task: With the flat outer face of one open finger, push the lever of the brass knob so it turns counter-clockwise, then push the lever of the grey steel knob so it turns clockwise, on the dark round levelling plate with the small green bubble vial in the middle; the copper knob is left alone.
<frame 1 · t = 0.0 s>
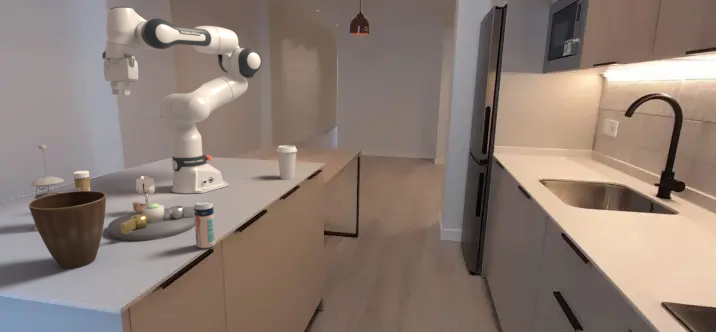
hand: (120, 94, 144), 39 cm above the worktop, tool pointing down, fingers open, 8 cm apart
tribrach: (154, 226, 125), on the worktop
vented spool lamp: (52, 225, 125), on the worktop
plant pot: (77, 263, 100), on the worktop
knob steel: (184, 211, 127), point 4 cm above the worktop, hinge at 0.0°
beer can: (206, 246, 110), on the worktop
knob copper: (140, 208, 130), point 4 cm above the worktop, hinge at 0.0°
sprinkles bottle: (85, 210, 140), on the worktop
coffee cup: (287, 178, 192), on the worktop
wineglass: (147, 212, 139), on the worktop
knob brass: (133, 223, 116), point 4 cm above the worktop, hinge at 0.0°
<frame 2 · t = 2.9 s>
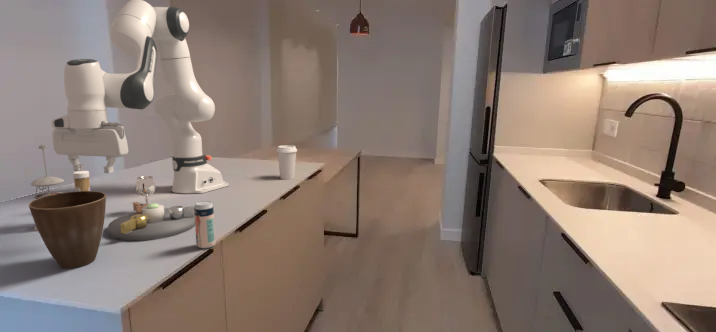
hand: (93, 171, 112), 19 cm above the worktop, tool pointing down, fingers open, 8 cm apart
nothing on the worktop moved.
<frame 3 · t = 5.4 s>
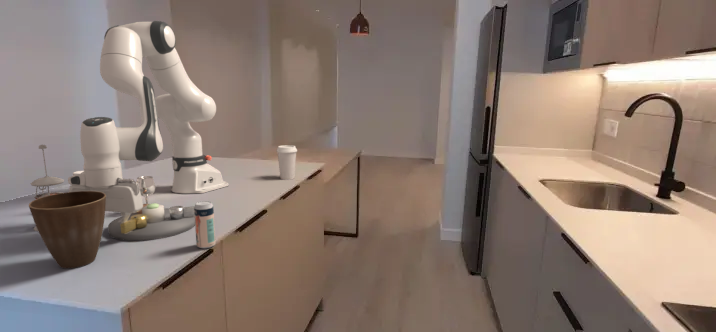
hand: (109, 225, 115), 4 cm above the worktop, tool pointing down, fingers open, 8 cm apart
knob brass: (133, 223, 116), point 4 cm above the worktop, hinge at 0.4°, touching gripper
everything else where it was.
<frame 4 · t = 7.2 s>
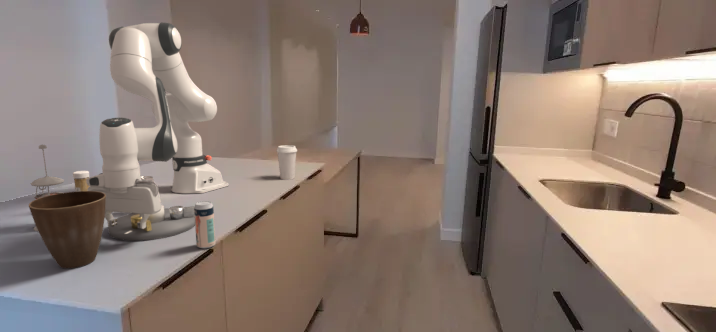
hand: (127, 226, 114), 4 cm above the worktop, tool pointing down, fingers open, 8 cm apart
knob brass: (142, 222, 117), point 4 cm above the worktop, hinge at 59.8°, touching gripper
everything else where it was.
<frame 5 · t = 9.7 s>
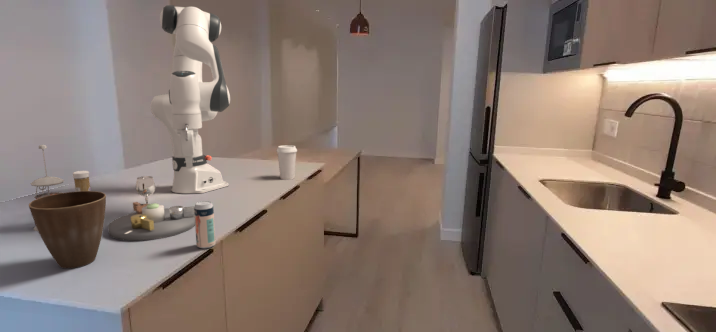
hand: (190, 165, 134), 17 cm above the worktop, tool pointing down, fingers open, 8 cm apart
knob brass: (143, 222, 117), point 4 cm above the worktop, hinge at 66.3°
everything else where it was.
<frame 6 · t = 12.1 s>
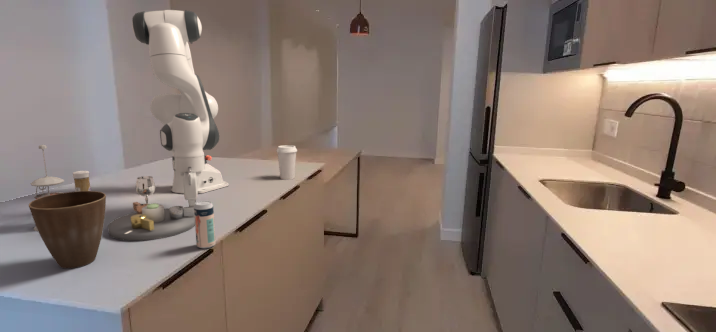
hand: (192, 206, 133), 4 cm above the worktop, tool pointing down, fingers open, 7 cm apart
knob steel: (184, 211, 127), point 4 cm above the worktop, hinge at -1.1°, touching gripper
everything else where it was.
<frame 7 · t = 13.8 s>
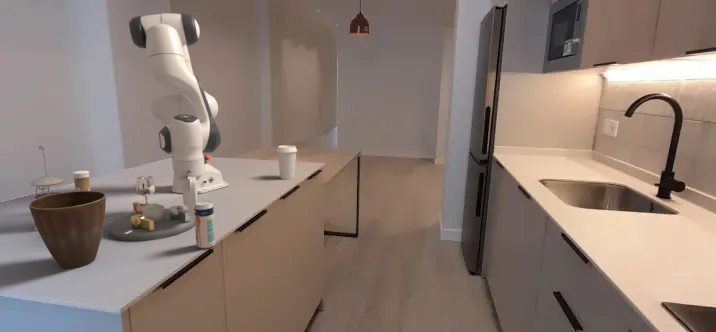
hand: (192, 211, 128), 4 cm above the worktop, tool pointing down, fingers open, 8 cm apart
knob steel: (180, 213, 125), point 4 cm above the worktop, hinge at -60.6°, touching gripper
everything else where it was.
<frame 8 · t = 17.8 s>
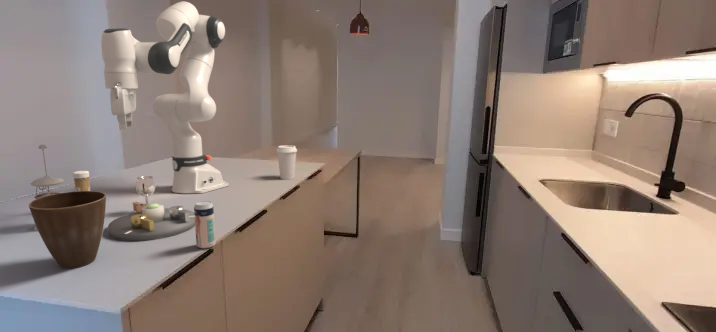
hand: (126, 127, 128), 29 cm above the worktop, tool pointing down, fingers open, 8 cm apart
knob steel: (180, 213, 125), point 4 cm above the worktop, hinge at -60.6°
everything else where it was.
at the end: knob brass at +66° (first picture: +0°); knob steel at -61° (first picture: +0°); knob copper at +0° (first picture: +0°) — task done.
